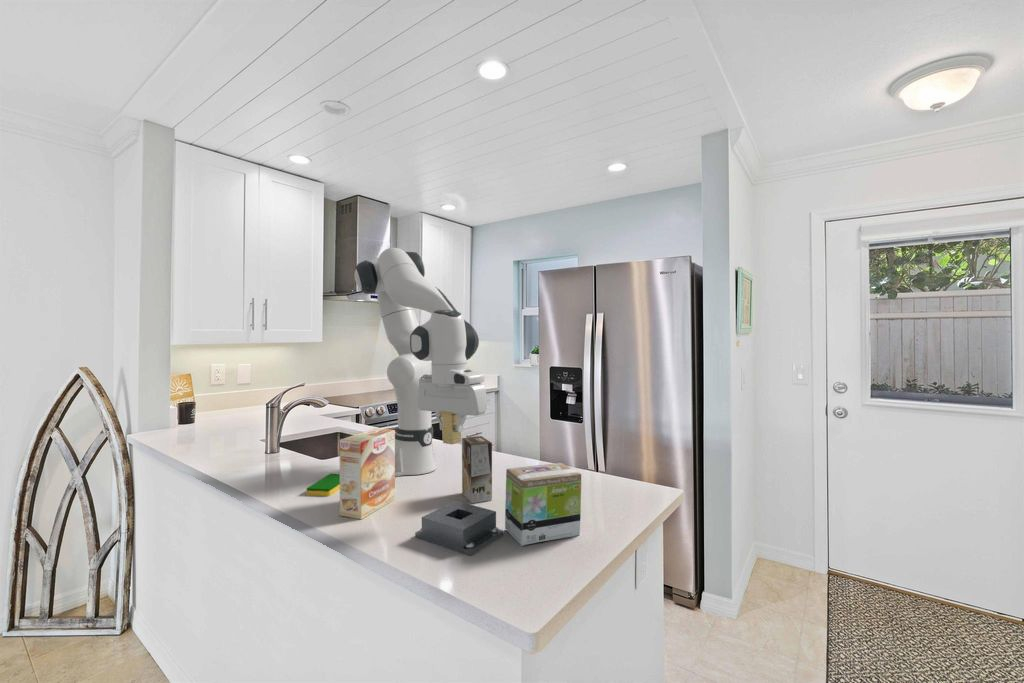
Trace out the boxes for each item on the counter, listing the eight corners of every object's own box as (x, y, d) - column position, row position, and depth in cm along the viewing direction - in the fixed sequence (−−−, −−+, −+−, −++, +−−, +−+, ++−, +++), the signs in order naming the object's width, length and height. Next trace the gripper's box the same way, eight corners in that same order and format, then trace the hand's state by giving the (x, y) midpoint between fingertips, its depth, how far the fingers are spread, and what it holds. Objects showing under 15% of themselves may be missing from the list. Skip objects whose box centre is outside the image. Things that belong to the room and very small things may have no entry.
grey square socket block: (415, 536, 107) (415, 515, 107) (450, 519, 117) (450, 499, 117) (470, 555, 98) (470, 532, 98) (503, 534, 108) (503, 513, 108)
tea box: (522, 548, 102) (522, 480, 101) (504, 529, 111) (504, 467, 111) (581, 536, 108) (582, 472, 107) (560, 519, 117) (560, 460, 117)
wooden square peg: (441, 443, 117) (440, 411, 117) (451, 439, 120) (450, 408, 120) (453, 444, 115) (451, 412, 114) (463, 441, 118) (461, 409, 118)
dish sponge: (352, 481, 147) (352, 473, 147) (329, 497, 133) (329, 489, 133) (330, 480, 148) (330, 473, 147) (305, 496, 134) (305, 488, 134)
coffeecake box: (361, 520, 117) (361, 441, 116) (338, 516, 119) (337, 439, 118) (396, 499, 131) (396, 429, 130) (375, 496, 133) (374, 427, 132)
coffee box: (493, 500, 130) (493, 442, 129) (471, 504, 127) (470, 444, 127) (481, 489, 138) (481, 435, 138) (460, 493, 136) (460, 437, 135)
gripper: (410, 375, 120) (412, 429, 120) (473, 377, 109) (475, 437, 109) (428, 372, 125) (429, 424, 126) (489, 375, 114) (491, 432, 114)
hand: (451, 430), depth 117 cm, fingers closed on wooden square peg, 3 cm apart
